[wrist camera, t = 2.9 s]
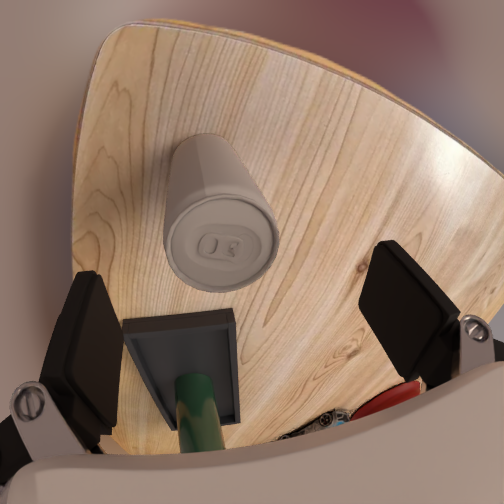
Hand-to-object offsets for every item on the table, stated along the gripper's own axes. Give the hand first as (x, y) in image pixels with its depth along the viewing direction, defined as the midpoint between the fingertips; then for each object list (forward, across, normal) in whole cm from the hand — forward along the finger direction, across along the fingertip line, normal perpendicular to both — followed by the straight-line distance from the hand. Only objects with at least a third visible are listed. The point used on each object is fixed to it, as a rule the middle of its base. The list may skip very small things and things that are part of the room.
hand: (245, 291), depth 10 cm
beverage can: (+15, +1, 0) cm, 15 cm away
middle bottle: (+14, +5, +28) cm, 32 cm away
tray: (+14, +5, +28) cm, 32 cm away
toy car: (+15, -17, +57) cm, 61 cm away
